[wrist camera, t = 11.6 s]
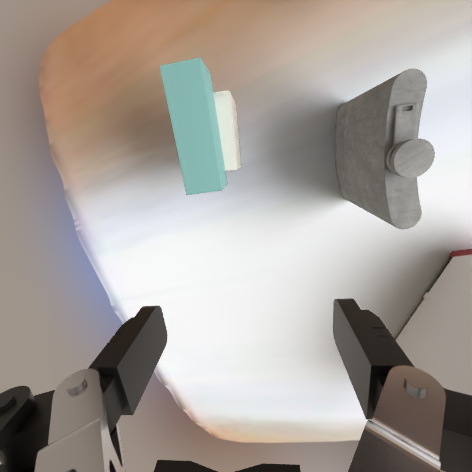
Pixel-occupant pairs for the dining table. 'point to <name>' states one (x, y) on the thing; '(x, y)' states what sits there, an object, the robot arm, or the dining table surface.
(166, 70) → the teal rectangular block
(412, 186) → the hip flask
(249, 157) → the dining table surface
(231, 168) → the cream rectangular block
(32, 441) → the robot arm
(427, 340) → the model house
